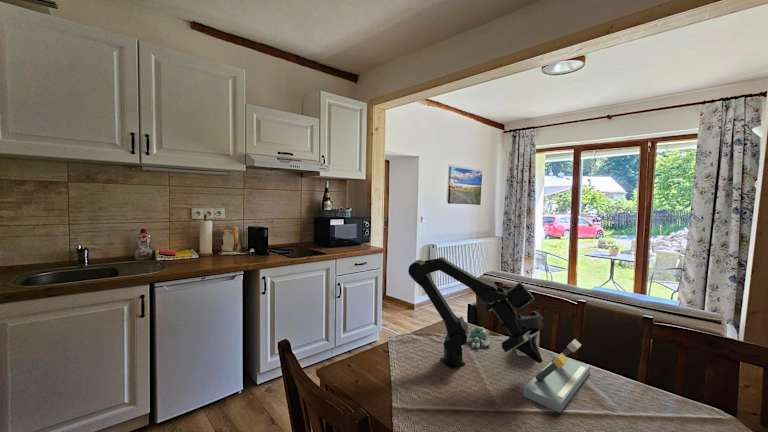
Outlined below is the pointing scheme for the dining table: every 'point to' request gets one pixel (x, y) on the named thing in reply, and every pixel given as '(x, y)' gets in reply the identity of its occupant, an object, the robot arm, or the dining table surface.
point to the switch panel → (557, 385)
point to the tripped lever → (552, 367)
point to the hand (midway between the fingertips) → (540, 362)
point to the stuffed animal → (478, 337)
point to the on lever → (571, 348)
